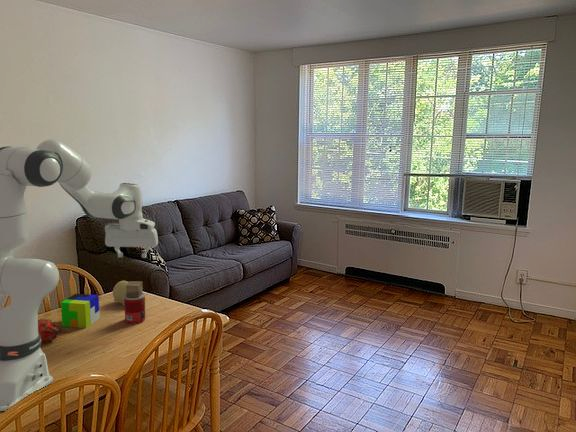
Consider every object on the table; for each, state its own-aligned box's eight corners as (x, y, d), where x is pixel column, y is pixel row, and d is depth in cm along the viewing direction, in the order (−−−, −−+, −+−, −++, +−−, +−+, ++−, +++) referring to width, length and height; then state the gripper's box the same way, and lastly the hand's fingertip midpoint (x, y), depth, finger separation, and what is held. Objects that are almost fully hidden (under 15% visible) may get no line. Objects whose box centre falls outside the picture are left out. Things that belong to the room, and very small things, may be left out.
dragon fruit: (35, 339, 166) (58, 350, 161) (18, 334, 158) (41, 345, 154) (48, 317, 169) (70, 328, 164) (32, 312, 161) (55, 323, 157)
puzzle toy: (99, 317, 183) (98, 295, 181) (86, 328, 173) (85, 304, 171) (76, 316, 183) (75, 293, 182) (62, 326, 174) (60, 302, 172)
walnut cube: (139, 297, 177) (138, 285, 176) (126, 297, 177) (126, 285, 176) (142, 293, 182) (142, 281, 181) (130, 292, 182) (129, 281, 181)
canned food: (146, 322, 179) (145, 297, 177) (125, 325, 176) (124, 299, 174) (144, 315, 186) (144, 291, 184) (124, 317, 183) (123, 292, 181)
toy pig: (130, 309, 192) (130, 286, 190) (108, 305, 196) (107, 282, 194) (145, 302, 201) (144, 279, 199) (123, 298, 205) (122, 276, 203)
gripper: (101, 224, 170) (103, 259, 172) (154, 225, 171) (155, 259, 173) (107, 221, 176) (108, 254, 179) (158, 222, 177) (159, 255, 180)
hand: (132, 257), depth 176 cm, fingers open, 8 cm apart
